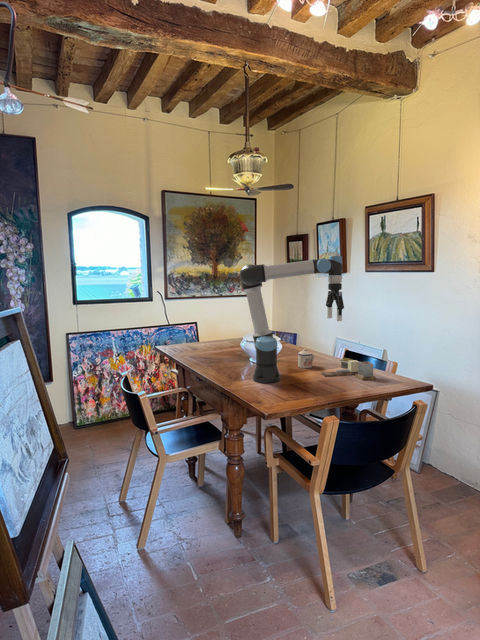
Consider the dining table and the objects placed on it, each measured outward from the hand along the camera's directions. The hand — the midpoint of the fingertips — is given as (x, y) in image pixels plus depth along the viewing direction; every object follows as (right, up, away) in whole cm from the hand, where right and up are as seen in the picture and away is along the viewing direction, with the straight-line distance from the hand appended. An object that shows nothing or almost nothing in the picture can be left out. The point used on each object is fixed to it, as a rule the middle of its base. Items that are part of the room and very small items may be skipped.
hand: (334, 319), depth 225 cm
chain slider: (+8, -30, +1) cm, 31 cm away
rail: (+5, -32, +1) cm, 32 cm away
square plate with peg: (+15, -33, -8) cm, 37 cm away
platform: (+12, -31, +15) cm, 36 cm away
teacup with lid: (-13, -30, +20) cm, 38 cm away
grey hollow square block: (+15, -31, -8) cm, 36 cm away
